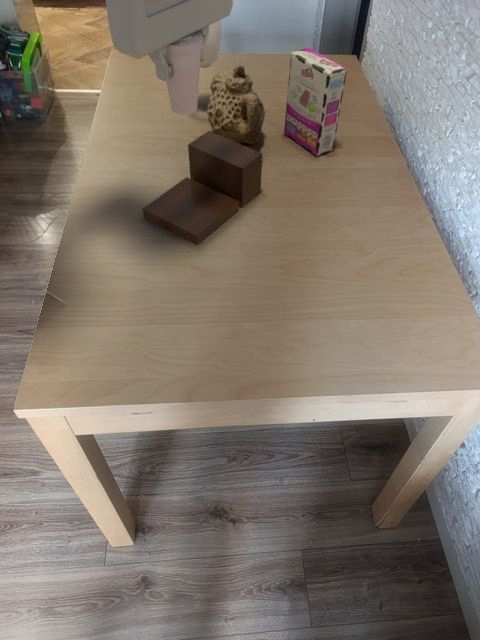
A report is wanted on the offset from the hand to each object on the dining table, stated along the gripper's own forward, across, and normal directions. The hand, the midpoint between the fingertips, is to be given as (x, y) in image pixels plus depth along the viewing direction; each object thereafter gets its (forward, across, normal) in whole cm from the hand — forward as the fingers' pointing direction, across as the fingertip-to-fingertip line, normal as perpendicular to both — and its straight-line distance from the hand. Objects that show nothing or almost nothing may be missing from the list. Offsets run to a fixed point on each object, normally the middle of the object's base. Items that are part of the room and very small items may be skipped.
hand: (180, 70), depth 70 cm
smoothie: (+6, 0, 0) cm, 6 cm away
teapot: (+25, -26, -8) cm, 37 cm away
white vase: (+25, -31, -22) cm, 46 cm away
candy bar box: (+25, -34, +4) cm, 43 cm away
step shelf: (+25, -4, 0) cm, 25 cm away
